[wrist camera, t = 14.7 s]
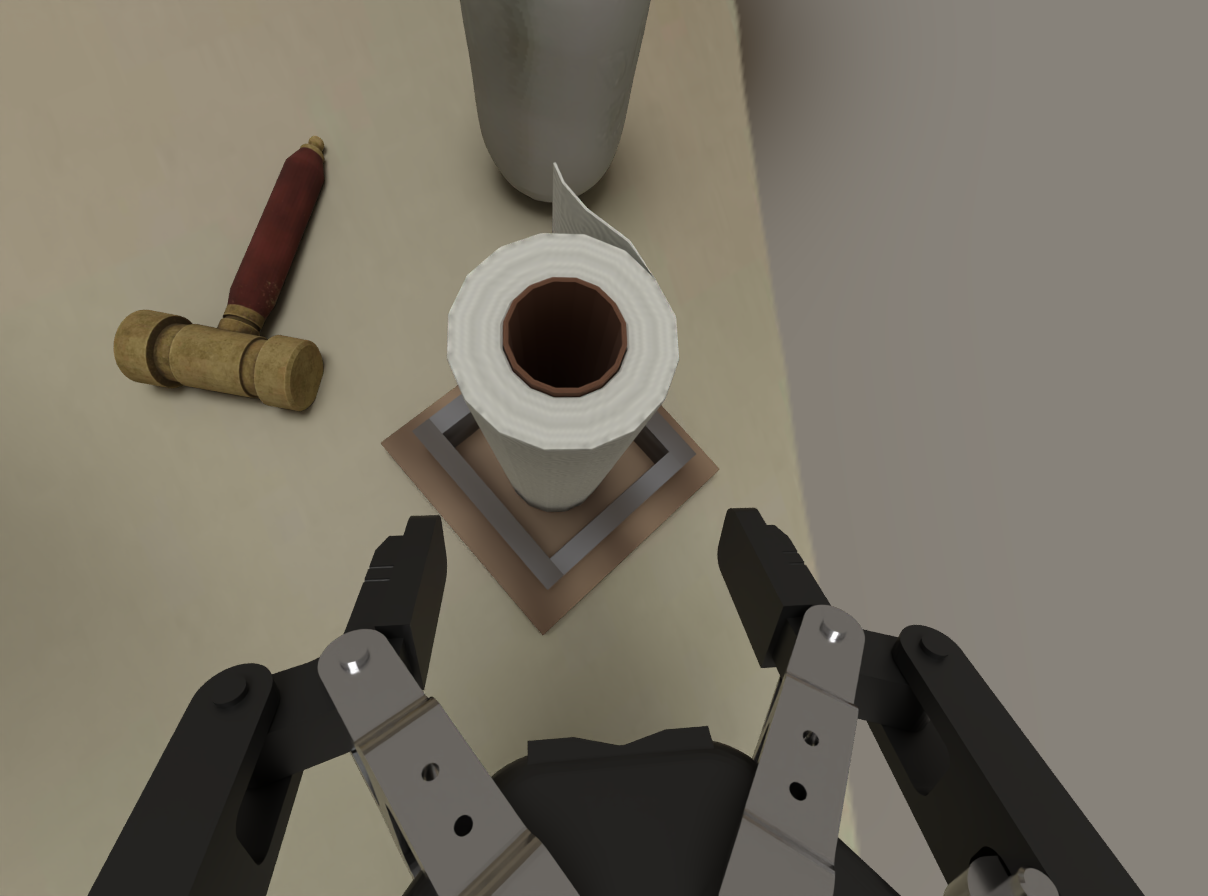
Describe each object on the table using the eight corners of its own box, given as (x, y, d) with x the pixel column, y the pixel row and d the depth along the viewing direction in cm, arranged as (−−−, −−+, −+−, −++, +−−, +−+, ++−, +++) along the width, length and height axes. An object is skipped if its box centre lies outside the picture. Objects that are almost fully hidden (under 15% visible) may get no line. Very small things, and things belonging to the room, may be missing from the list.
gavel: (231, 93, 35) (378, 127, 36) (264, 149, 40) (394, 178, 41) (97, 362, 29) (278, 395, 30) (153, 393, 33) (310, 421, 34)
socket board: (542, 632, 33) (543, 645, 27) (387, 448, 34) (359, 427, 29) (712, 472, 37) (742, 457, 31) (566, 312, 38) (571, 272, 33)
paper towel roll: (569, 531, 33) (604, 497, 12) (490, 481, 33) (391, 363, 12) (625, 439, 35) (744, 272, 14) (550, 392, 35) (554, 155, 14)
